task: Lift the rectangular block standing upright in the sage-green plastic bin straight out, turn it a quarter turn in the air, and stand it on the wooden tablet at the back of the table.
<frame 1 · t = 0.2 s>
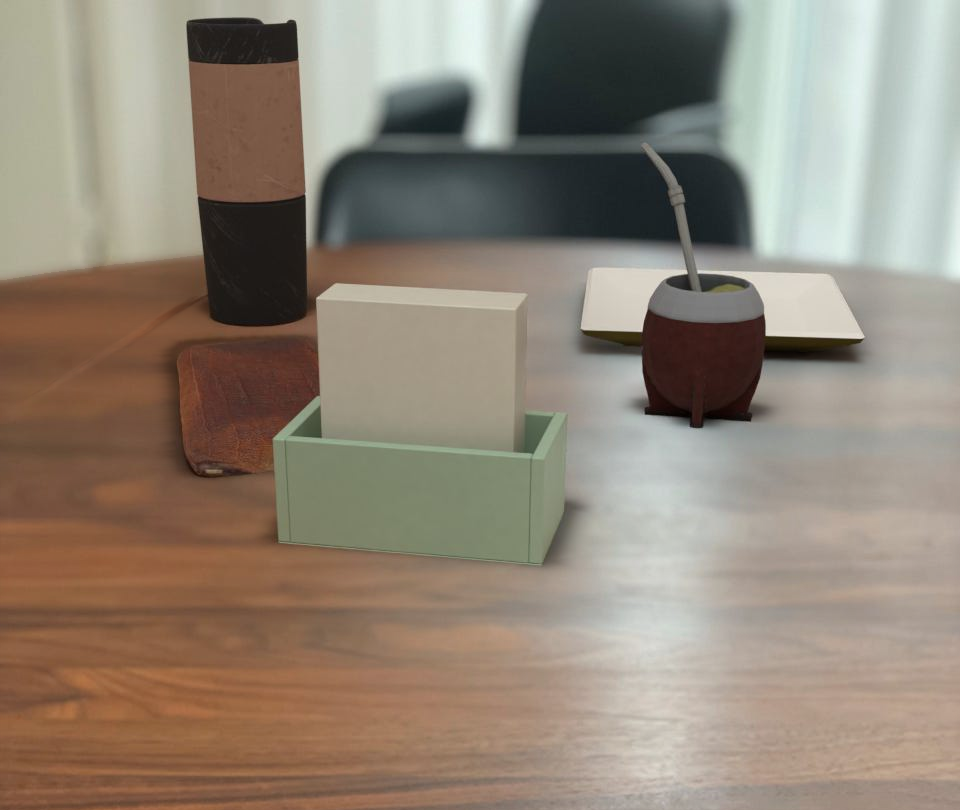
rectangular block: (424, 526, 71), resting on bin
travel mug: (258, 316, 110), on the table
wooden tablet: (265, 410, 90), on the table
plate: (713, 329, 108), on the table
mate gourd: (690, 420, 89), on the table
bin: (425, 535, 72), on the table
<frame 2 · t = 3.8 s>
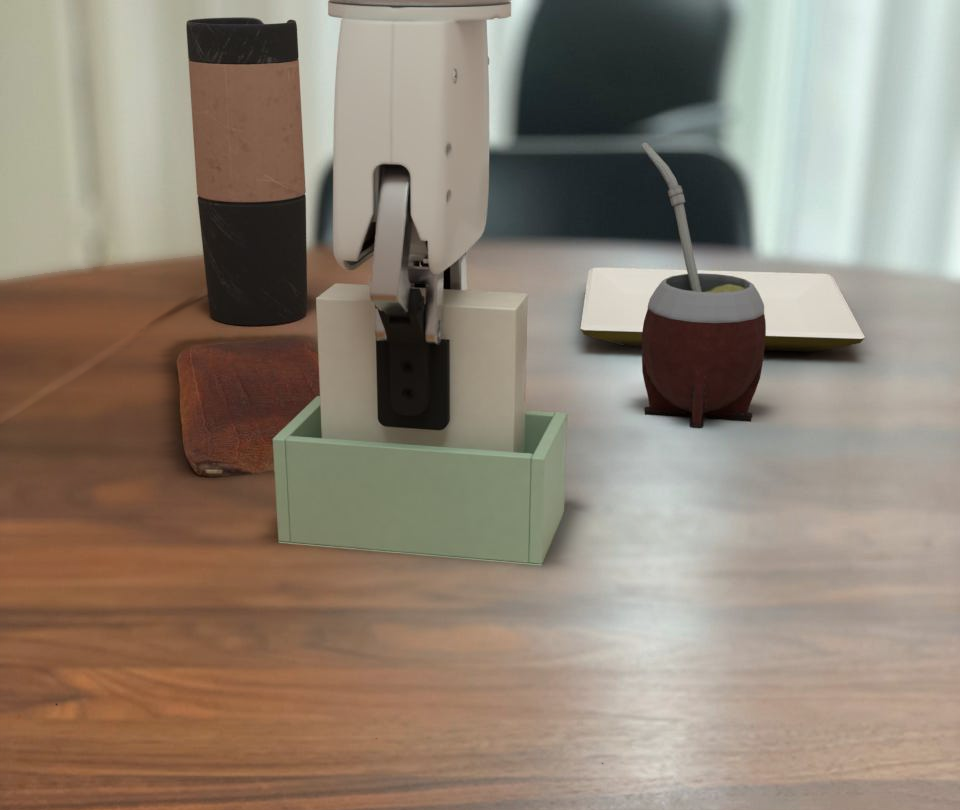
hand: (423, 410, 69), 6 cm above the table, tool pointing down, fingers closed on rectangular block, 3 cm apart
rectangular block: (424, 526, 71), point 1 cm above the table, touching bin, gripper
everything else where it was.
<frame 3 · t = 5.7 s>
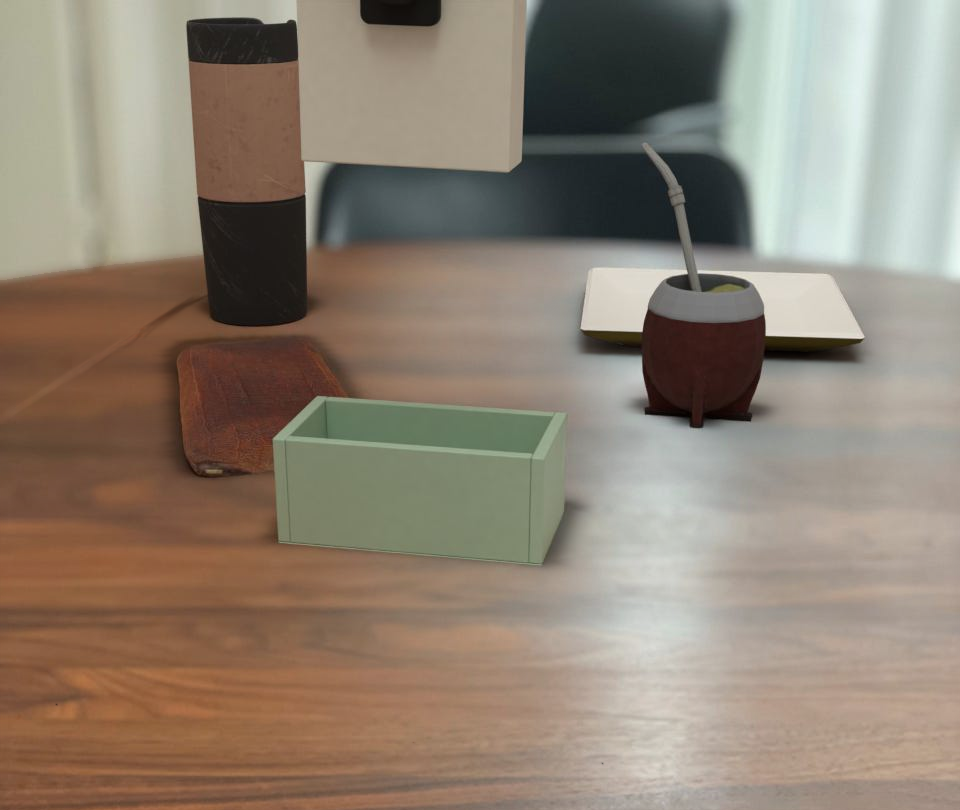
hand: (412, 16, 62), 23 cm above the table, tool pointing down, fingers closed on rectangular block, 3 cm apart
rectangular block: (412, 161, 64), point 17 cm above the table, touching gripper
everything else where it was.
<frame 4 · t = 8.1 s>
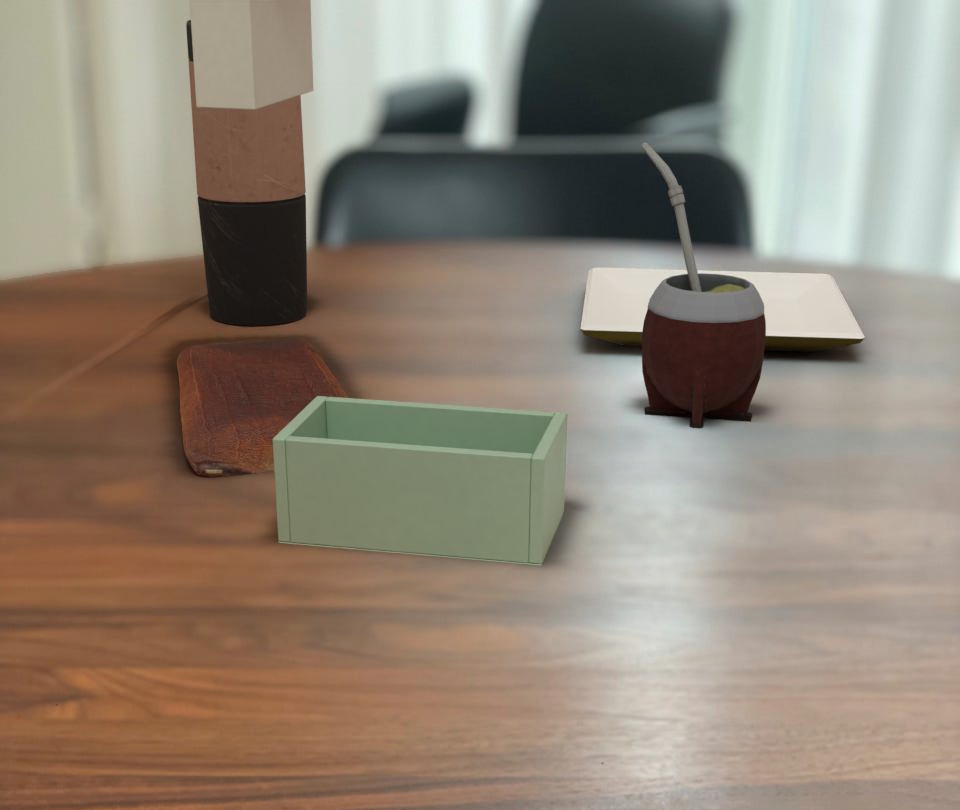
rectangular block: (257, 99, 76), point 18 cm above the table, touching gripper
everything else where it was.
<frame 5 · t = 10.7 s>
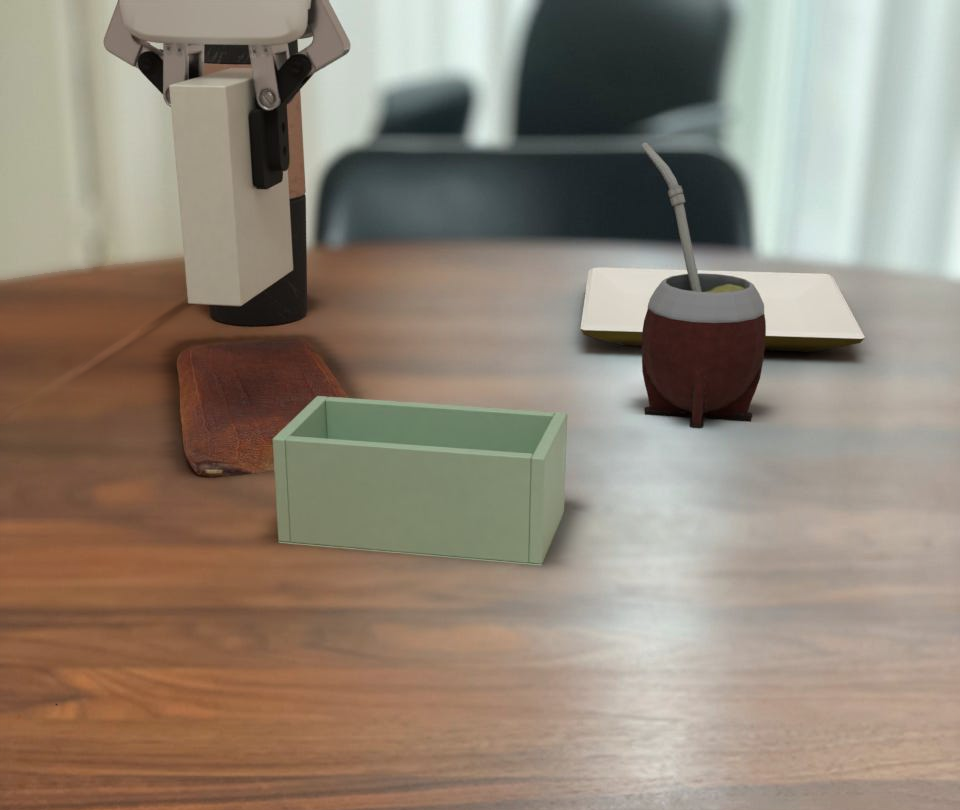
hand: (235, 180, 81), 14 cm above the table, tool pointing down, fingers closed on rectangular block, 3 cm apart
rectangular block: (243, 286, 83), point 8 cm above the table, touching gripper
everything else where it was.
when the fingers open (7 cm above the table, at t = 12.5 s): rectangular block stays where it is, point 2 cm above the table.
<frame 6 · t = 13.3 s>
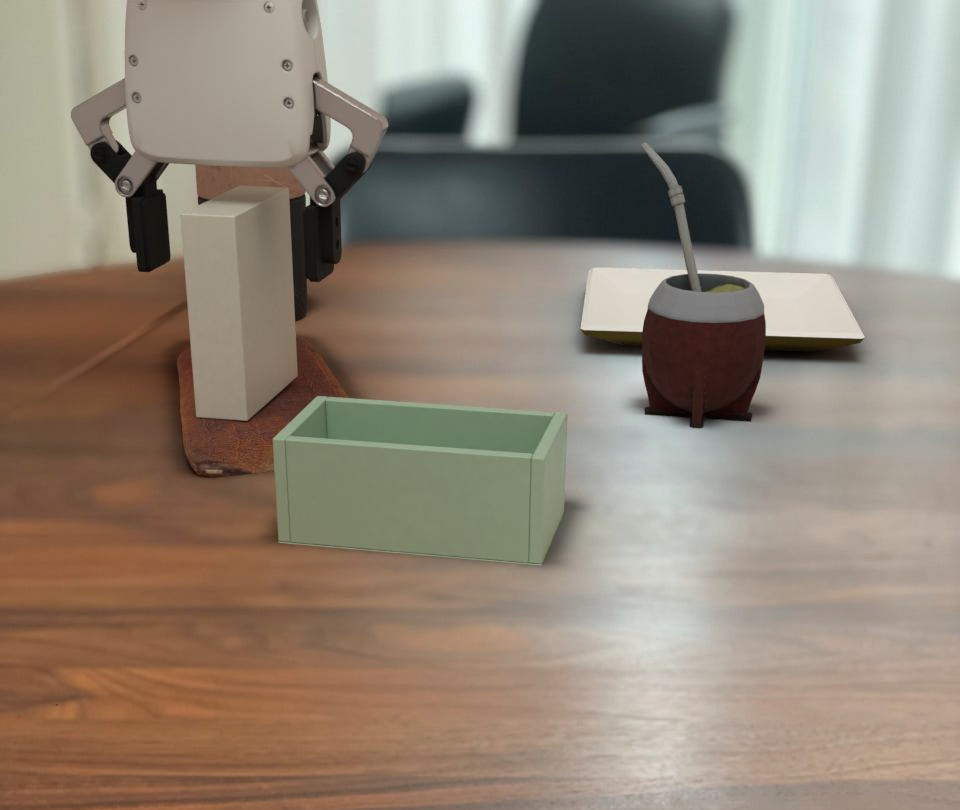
hand: (236, 271, 83), 9 cm above the table, tool pointing down, fingers open, 9 cm apart
rectangular block: (249, 396, 86), point 2 cm above the table
everything else where it was.
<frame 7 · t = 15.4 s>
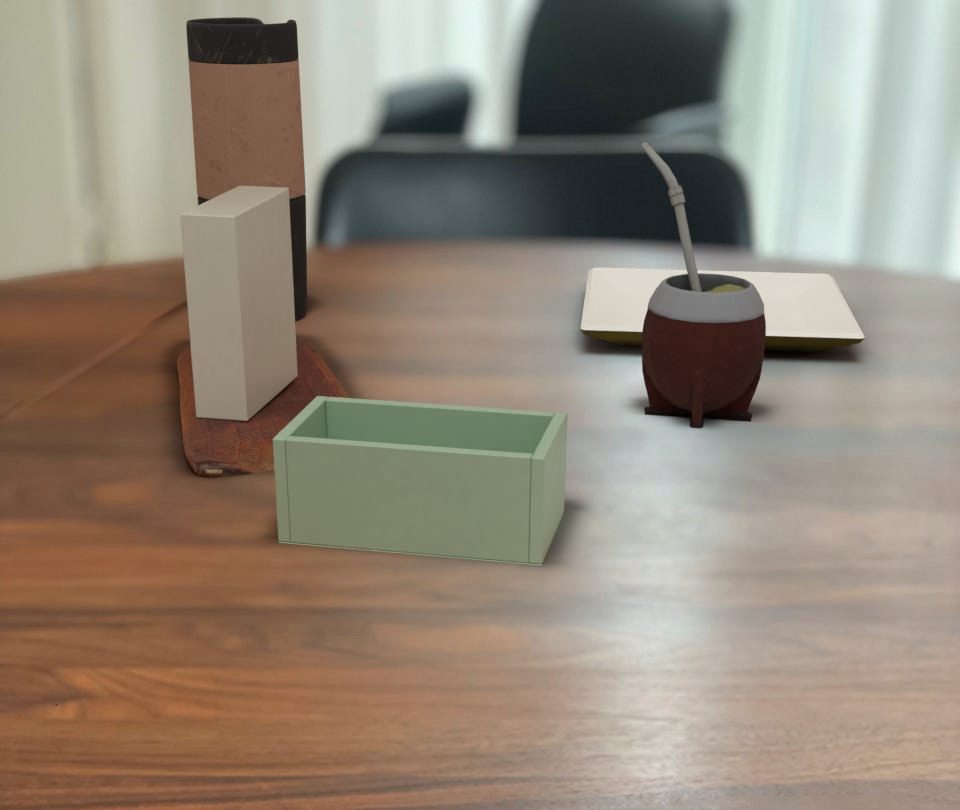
rectangular block: (249, 396, 86), point 2 cm above the table, touching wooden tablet
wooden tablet: (265, 410, 90), on the table, touching rectangular block
everything else where it was.
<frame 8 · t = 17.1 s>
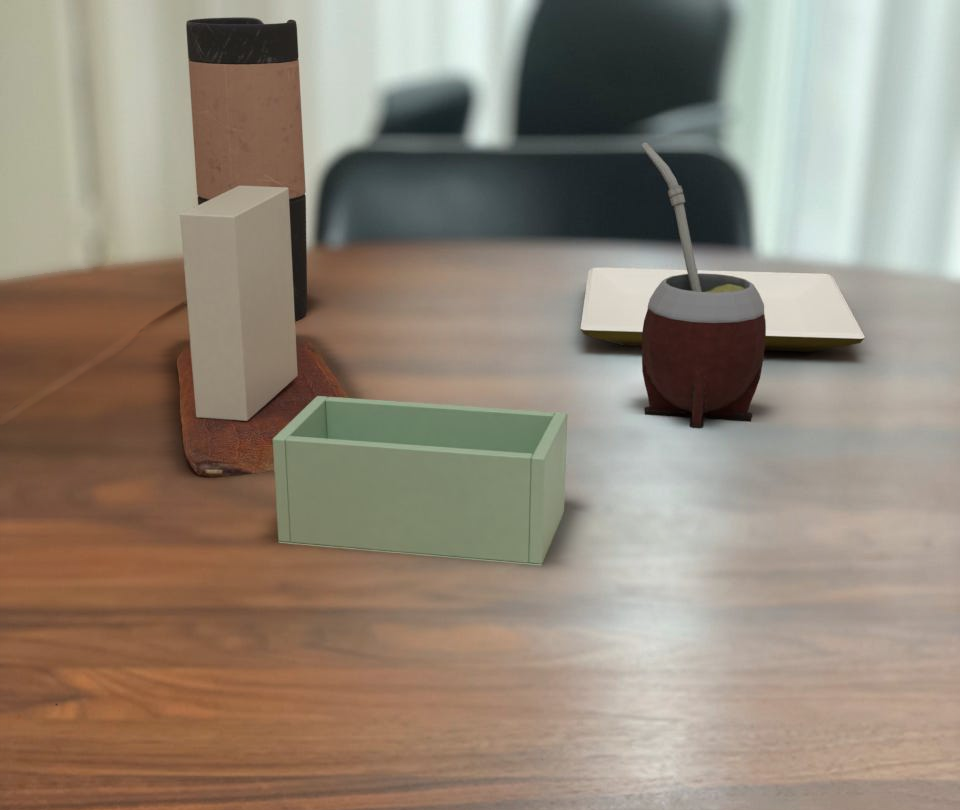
nothing on the table moved.
at the end: rectangular block inside the target area on the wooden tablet (3.2 cm from its centre), point 1.8 cm above the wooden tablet's base; rectangular block tilted 0°; rectangular block touching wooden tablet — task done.
